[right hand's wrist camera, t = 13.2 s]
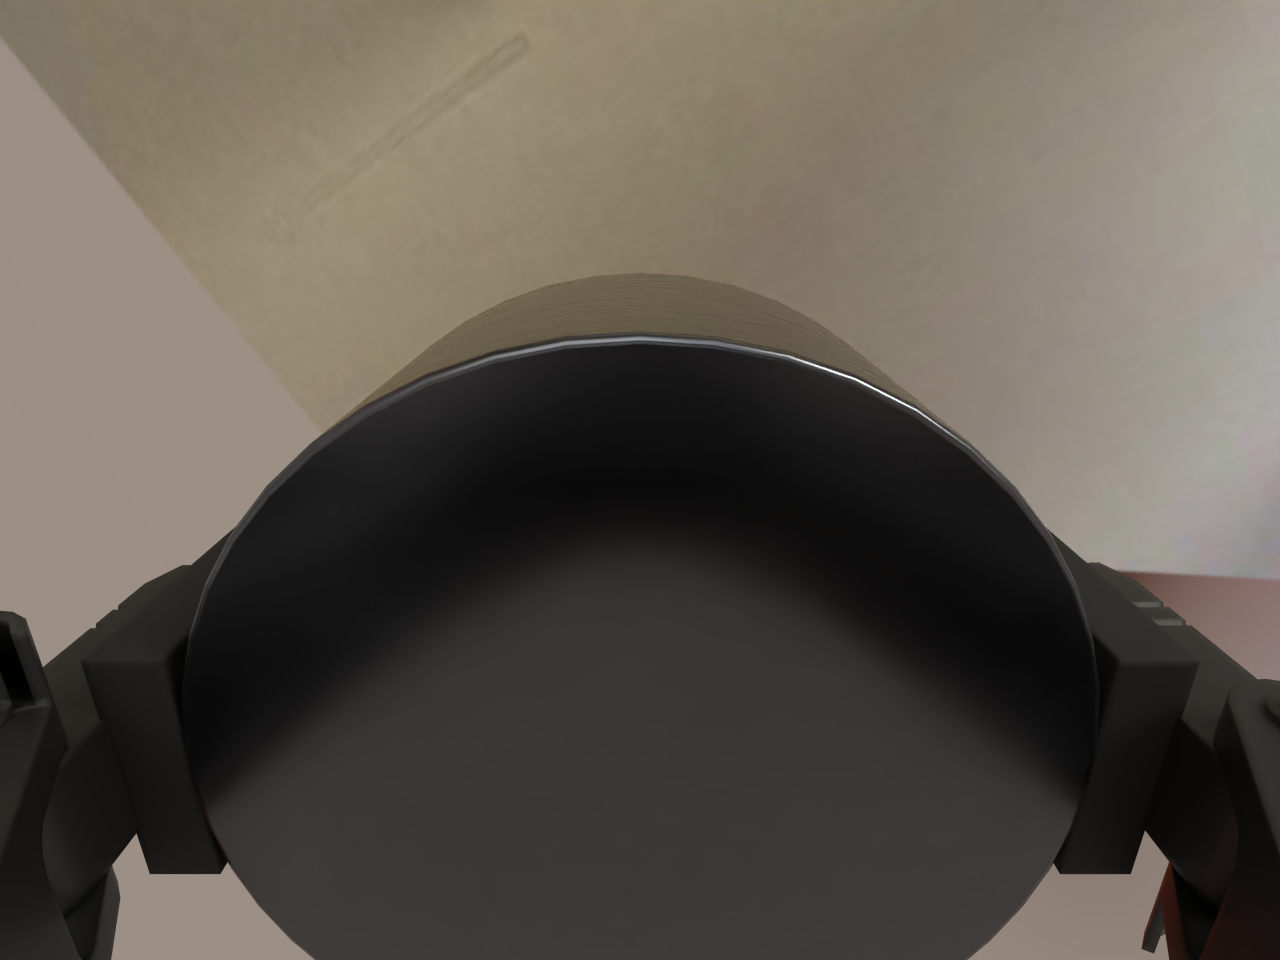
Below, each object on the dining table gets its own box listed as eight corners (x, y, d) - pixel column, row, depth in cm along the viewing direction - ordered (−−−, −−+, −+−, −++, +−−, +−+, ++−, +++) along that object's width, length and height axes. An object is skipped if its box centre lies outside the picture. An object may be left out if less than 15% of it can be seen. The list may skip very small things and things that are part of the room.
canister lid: (284, 272, 10) (59, 334, 6) (997, 271, 10) (1220, 334, 6) (377, 814, 13) (271, 1073, 9) (904, 815, 13) (1010, 1073, 9)
